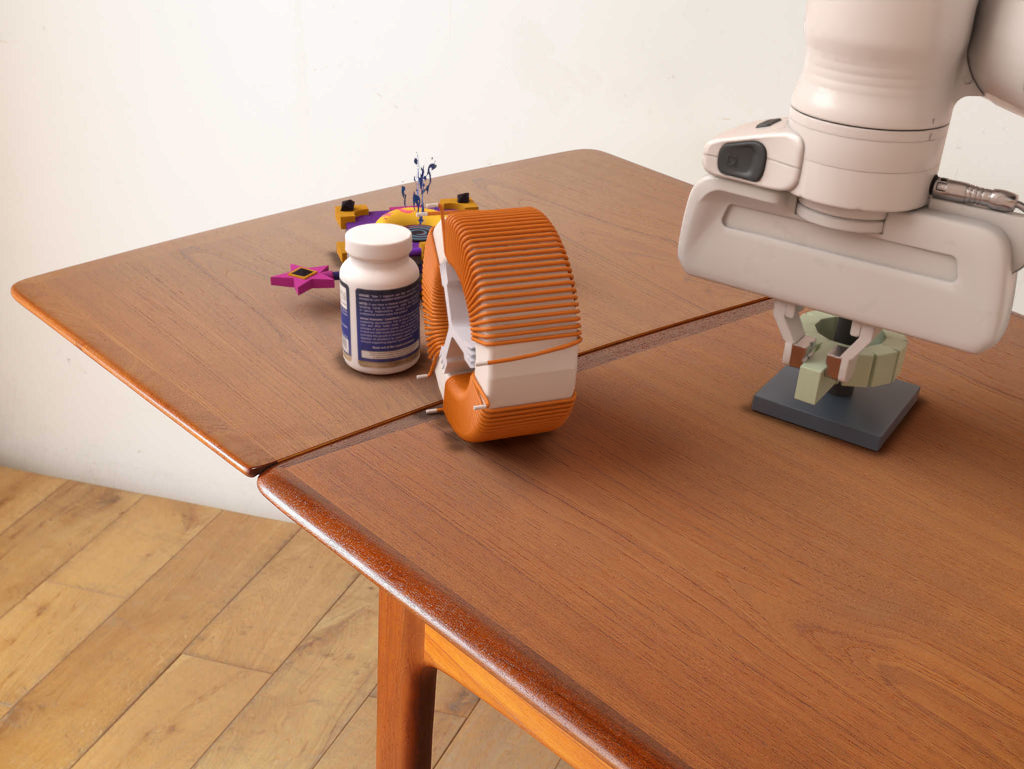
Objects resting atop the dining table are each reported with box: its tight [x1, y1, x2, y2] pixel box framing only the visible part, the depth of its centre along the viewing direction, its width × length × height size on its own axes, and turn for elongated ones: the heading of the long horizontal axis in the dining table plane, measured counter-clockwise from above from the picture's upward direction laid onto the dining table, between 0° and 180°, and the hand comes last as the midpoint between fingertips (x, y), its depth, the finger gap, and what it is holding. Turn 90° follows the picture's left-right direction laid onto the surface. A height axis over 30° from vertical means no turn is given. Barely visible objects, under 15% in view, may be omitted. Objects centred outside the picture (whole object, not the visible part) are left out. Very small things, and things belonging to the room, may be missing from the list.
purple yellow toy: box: [269, 151, 480, 298], centre depth 90 cm, size 14×25×12 cm, turn 108°
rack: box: [751, 317, 922, 452], centre depth 72 cm, size 9×9×11 cm
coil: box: [416, 202, 584, 444], centre depth 67 cm, size 7×15×15 cm, turn 20°
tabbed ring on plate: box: [794, 310, 909, 405], centre depth 71 cm, size 7×11×2 cm
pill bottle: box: [338, 223, 421, 375], centre depth 76 cm, size 6×6×10 cm
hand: (816, 370), depth 68 cm, fingers closed on tabbed ring on plate, 1 cm apart
